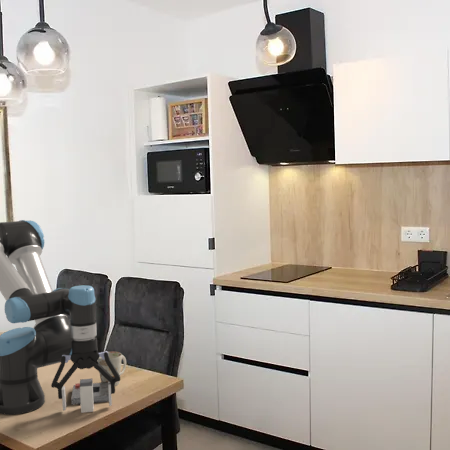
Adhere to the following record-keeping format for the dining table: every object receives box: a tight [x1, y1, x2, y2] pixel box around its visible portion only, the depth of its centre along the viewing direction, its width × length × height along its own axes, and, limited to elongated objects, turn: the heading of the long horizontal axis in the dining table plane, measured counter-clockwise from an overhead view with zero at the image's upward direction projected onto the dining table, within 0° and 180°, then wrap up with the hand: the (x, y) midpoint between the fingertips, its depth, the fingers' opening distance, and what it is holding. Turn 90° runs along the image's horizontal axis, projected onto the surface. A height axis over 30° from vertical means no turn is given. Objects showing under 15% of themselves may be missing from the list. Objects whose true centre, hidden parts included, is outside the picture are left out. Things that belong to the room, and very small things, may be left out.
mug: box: [97, 351, 127, 387], centre depth 199 cm, size 8×13×10 cm, turn 152°
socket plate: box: [70, 382, 109, 406], centre depth 187 cm, size 12×12×3 cm
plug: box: [79, 378, 95, 414], centre depth 176 cm, size 4×4×9 cm
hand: (87, 406), depth 176 cm, fingers open, 13 cm apart
